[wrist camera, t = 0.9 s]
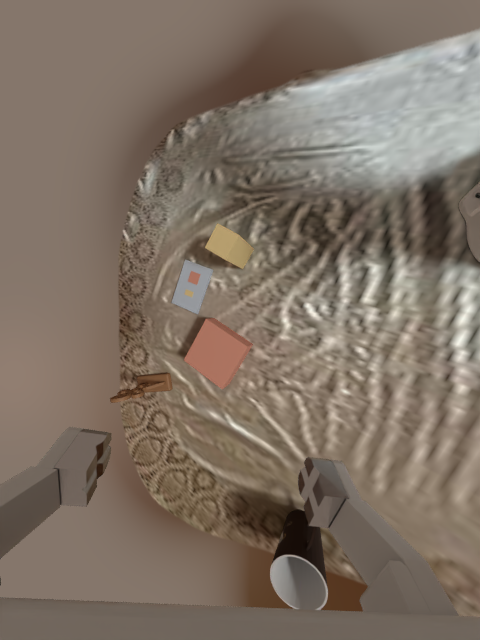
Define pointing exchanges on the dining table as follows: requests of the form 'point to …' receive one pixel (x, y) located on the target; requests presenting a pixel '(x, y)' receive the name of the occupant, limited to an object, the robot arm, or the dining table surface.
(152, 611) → the robot arm
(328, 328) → the dining table surface
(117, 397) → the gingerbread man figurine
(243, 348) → the base brick
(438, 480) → the dining table surface
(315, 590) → the coffee mug
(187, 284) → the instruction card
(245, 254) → the ochre brick
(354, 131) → the dining table surface
